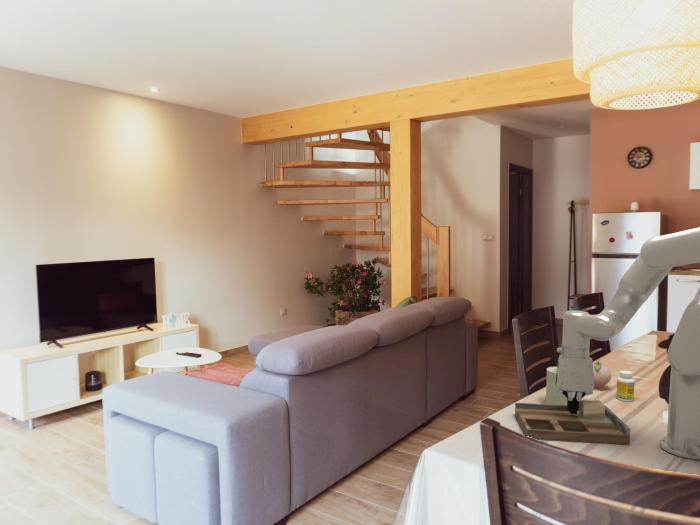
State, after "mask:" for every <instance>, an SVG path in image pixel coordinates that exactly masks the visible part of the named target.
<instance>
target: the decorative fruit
mask: <svg viewBox="0 0 700 525" xmlns="http://www.w3.org/2000/svg"><path fill="white" fill-rule="evenodd" d="M593 370H594V388H595V389H598V388H601V387H605V386H606V385H608V384H609V382H611V379H612V373H611V371H610V369H609V368H608V366H606V365H603V364H602V363H600V361H597V362H595V363H593Z"/></svg>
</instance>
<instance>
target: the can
mask: <svg viewBox="0 0 700 525" xmlns="http://www.w3.org/2000/svg"><path fill="white" fill-rule="evenodd" d="M556 369H557V366H549V367H547V368H546V385H545V386H546V388H545V403H544V404H551V405H567V398H566V397H565V395H564V394H560V393H557V392H556V391H555V387H556V384H555V378H556ZM574 394H575V392H572V397H573V398H574Z"/></svg>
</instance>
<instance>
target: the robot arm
mask: <svg viewBox="0 0 700 525" xmlns="http://www.w3.org/2000/svg"><path fill="white" fill-rule="evenodd" d="M639 252H640V253H639V255H638V256H637V257H636V259H635V260H634V261H633V263H632V264H631V265H630V266H629V268H628V269H627V270H626V272H625V273H624V274H623V275H622V277H621V278H620V280H619V281H618V288H617V290H616V292H615V293H614V294H613V297H612V298H611V300H610V301H609V302H608V303H607V304H606V306H605V307H604V308H603V310H602V311H600V313H597V314H590V313H589V312H587V311H584V310H577V309H576V310H575V309H574V310H566V311H565V312H564V313H563V316H562V318H563V320H562V340H561V342H562V344H561V347H557V348H556V352H557V353H560V354H559V356H558V360H557V365H556V367H557V369H556V378H555V384H556V387H555V391H556V392H557V393H560V394H564V395H565V397H566V398H567V410H569V412H570V413H571V414H577V411H579V401H581V399H582V398H584V397H585V396H590V395H591V396H592V395H593V394H594V388H595V387H594V370H593V364H594V363H593V358H592V357H591V356H590V346H591V344H590V342H591V339H592V340H595V341H600V342H605V341H606V342H607V341H610V340H612V339H613V338H614V337H616V336H617V335H619V334H620V333H621V332H622V331H623V329H624V328H625V327H626V326H627V325H628V324H629V322H630V321H631V319H633V317H634V316H635V314H636V313H637V312H638V311H639V309H640V308H641V307H642V306H643V305H644V304H645V303H646V302H647V301H648V299H649V298H650V297H651V295H652V294H653V293H654V292H655V290H656V289H657V288H658V287H659V285H660V284H661V283H662V281H663V280H664V279H665V278H666V276H667V275H668V274H669V273H670V272H671V271H672V269H673V268H675V267H682V266H688V265H691V264H697V263H700V227H696V228H692V229H691V228H690V229H685V230H682V231H678V232H674V233H669V234H663V235H658V236H652V237H651V238H649V239H647V240H646V241H645V242H644V243H643V244H642V246H641V248H640V250H639ZM696 291H697V292H696V293H695V296H694V298H693V300H691V302H689V303H688V305H687V306H686V307H685V309H684V311H683V313H682V315H681V318H680V320H679V323H678V325H677V327H676V329H675V333H674V335H673V337H672V340H671V341H670V344H669V347H668V350H667V356H666V357H667V360H668V363H669V365H670V377H669V394H668V413H667V427H666V431H667V432H666V437H663V438H660V441H659V446H660V448H661V449H663V450H664V451H666V452H668V453H670V454H673V455H675V456H677V457H681V458H686V459H689V460H698V461H699V460H700V286H699V288H698V290H696ZM572 392H575V394H574V398H573V397H572Z"/></svg>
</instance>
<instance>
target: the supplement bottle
mask: <svg viewBox="0 0 700 525" xmlns="http://www.w3.org/2000/svg"><path fill="white" fill-rule="evenodd" d="M633 376H634V374H633V372H632V371H628V370H620V371H619V376H618V377H617V380H616V382H617V383H616V399H617V400H619V401H621V402H622V401H623V402H633V401H634V399H635V379H634V378H633Z"/></svg>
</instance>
